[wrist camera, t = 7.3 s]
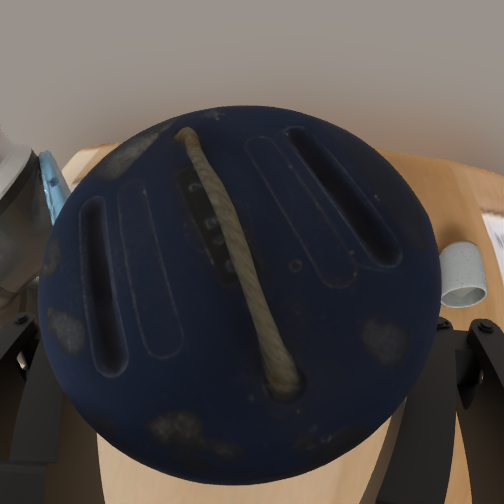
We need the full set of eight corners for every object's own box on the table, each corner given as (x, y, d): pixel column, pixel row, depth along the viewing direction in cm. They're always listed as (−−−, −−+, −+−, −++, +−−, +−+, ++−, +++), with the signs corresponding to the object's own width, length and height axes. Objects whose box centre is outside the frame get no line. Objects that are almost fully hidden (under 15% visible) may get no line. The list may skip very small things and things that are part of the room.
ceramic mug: (465, 263, 39) (488, 240, 32) (468, 310, 35) (496, 292, 28) (413, 253, 40) (433, 227, 34) (414, 303, 37) (438, 282, 30)
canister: (199, 426, 18) (-22, 469, 2) (188, 305, 22) (52, 108, 6) (333, 408, 18) (547, 409, 2) (310, 287, 22) (367, 54, 6)
